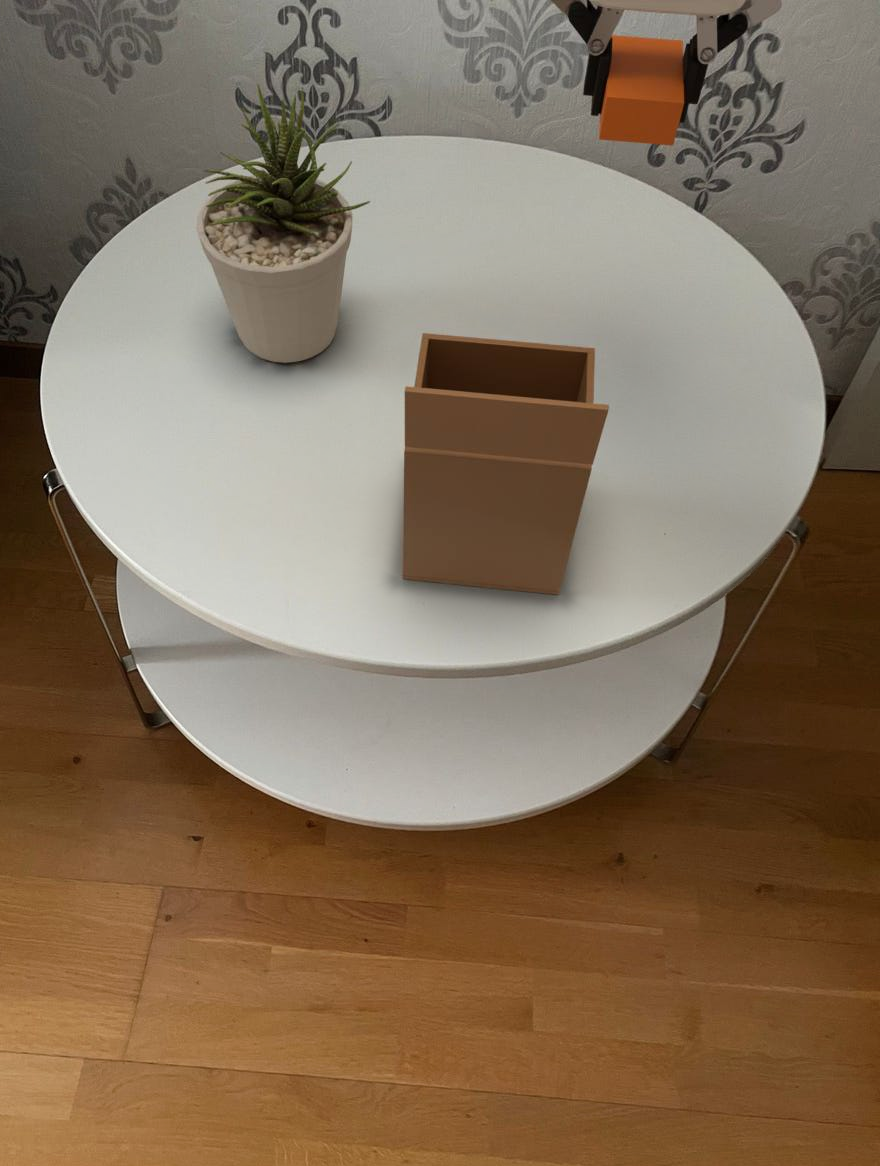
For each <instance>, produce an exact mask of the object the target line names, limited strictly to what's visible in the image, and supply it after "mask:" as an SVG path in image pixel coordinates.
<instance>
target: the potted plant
mask: <svg viewBox="0 0 880 1166" xmlns="http://www.w3.org/2000/svg"><path fill="white" fill-rule="evenodd" d="M256 85H257V91H258V97H259V102H260V108H261V111H262V115H263V121H264V125H265V129H266V130H265V131H266V134H267V138H268V143H269V146H268V144H267V143H266V142H265V141H264V139H263V138H262V137H261V136H260V134H259V133H258V131H257V130H256V129H255V127H254V125H253V123H251V121H250V119H249V117H248V116H247V114H246V112H245V111H244V109H243V108H242V107H240V111H241V113H242V115H243V117H244V119H245V122H246V123H247V125H248V126H247V125H245V124H243V123H240V126H242V127H243V128H244V129H246V130H247V131H248V132H250V133H251V134H252V136H253V138H254V140H255V142H256V143H257V145H258V148H259V150H260V152H261V155H262V157H263V161H264V162H262V161H247V162H245V161H243V160H240V159H238V158H236V157H234V156H231V155H229V154H227V153H224V152H222V151H220V152H219V153H220V154H221V155H222V156H225V157H226V158H228V159H230V160H232V161H233V162H235V163H237V164H238V165H240V166H241V167H243V168H242V170H247V171H248V172H249V173H250V174H251V175H248V176H247V175H242V174H236V173H233V172H228V171H222V170H217V169H215V170H214V169H203V172H206V173H212V174H213V173H214V174H218V175H223V176H216V177H215V178H212V179H210V180H207V181H206V182H205V185H206V184H210V183H214V182H217V181H227V180H230V181H232V182H229V183H228V184H226V185H224V186H223V187H221V188H218V189H216V190H214V191H211V192H210V193H208V194H207V197H208V199H207V200H206V201H205V202H204V204H203V205H202V206H201V208H200V211H199V213H198V215H197V220H196V232H197V235H198V239H199V242H200V245H201V247H202V250H203V253H204V254H205V257H206V259H207V260H208V262H209V264H210V266H211V268H212V271H213V273H214V275H215V278H216V281H217V283H218V286H219V289H220V291H221V294H222V297H223V299H224V302H225V304H226V308H227V310H228V313H229V315H230V317H231V320H232V322H233V325H234V327H235V330H236V333H237V334H238V337H239V339H240V341H241V342H242V344H243V345H244V347H245V348H246V349H247V350H248V351H249V352H250V353H252V354H254V355H255V356H257V357H258V358H260V359H262V360H266V361H270V362H274V363H283V364H286V363H296V362H297V363H299V362H302V361H305V360H308V359H311V358H313V357H314V356H317V355H319V354H320V353H322V352H323V351H324V350H325V349H327V348H328V346H330V344H331V343H332V341H333V339H334V338H335V335H336V332H337V331H336V330H337V328H338V324H339V323H338V322H339V316H340V307H341V300H342V292H343V285H344V276H345V270H346V269H345V268H346V262H347V253H348V250H349V248H350V244H351V241H352V232H353V212H352V210H357V209H359V208H361V207H364V206H366V205H368V204H370V202H371V200H368V201H364V202H361V203H358V204H355V205H350V203H349V202H348V201H347V199H346V198H345V197H344V196H343V195H342V194H341V193H340V192H339V191H338V189H336V188H334V186H335V185H336V184H337V183H339V181H340V180H341V179H342V178H343V177H344V176H345V175H346V174H347V172H348V171H349V169H350V167H351V165H352V163H353V161H350V162H349V164H348V165H347V167H346V168H345V170H344V171H342V172H341V173H340V174H339V175H338V176H337V177H335V178H334V179H332V180H331V181H330V182H329V183H326V182H324V181H323V180H321V179H319V178H318V177H319V176H320V175H321V173H322V172H324V171H325V170H326V169H325V166H326V165H327V162H324V163H323V164H322V165H320V166H319V167H318V165H317V157H316V151H317V149H318V148H319V147H320V146H321V144H322V143H323V142H324V140H325V139H326V137H328V136H329V135H330V134H331V133H332V132H333V131H334V130H335V129H336V128H337V127H338V126H340V123H337V124H335V125H333V126H332V127H330V128H329V129H327V131H325V132H324V133H323V135H321V136H320V137H319V138H318V139H317V140H316V142H315V143H314V144H313V143H312V141H311V139H310V138H309V135H308V134H307V133H306V130H305V129H304V128H302V127H303V119H304V112H305V95H304V89H303V87H301V100H300V107H299V112H298V117H297V122H296V106H297V105H296V104H297V94H294V96H293V100H292V101H291V112H290V116H289V122H288V121H287V120H288V119H287V114H286V106H285V99H284V98H283V99H282V100H281V118H280V119H281V120H280V121H278V122H277V126H276V124H275V122H274V120H273V118H272V116H271V114H270V112H269V110H268V108H267V104H266V101H265V99H264V96H263V93H262V90H261V87H260V84H259V83H258V82H257V83H256ZM277 128H278V130H277ZM303 138H305V140H306V142H307V146H308V150H309V152H308V153H307V155H306V156H305V158H304V159H303V161H302V162H301V164H300V166H299V165H298V162H299V155H300V151H301V147H302V143H303ZM310 163H311V164H310ZM255 166H256V167H260V168H262V169H258V168H256V167H255ZM308 168H309V169H308Z"/></svg>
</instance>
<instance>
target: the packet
mask: <svg viewBox="0 0 880 1166" xmlns="http://www.w3.org/2000/svg"><path fill="white" fill-rule="evenodd" d="M611 38H613V41H612V60H611V66H610V71H609V77H608V79H607V84H606V90H605V95H604V100H603V106H602V111H601V114H599V129H598V130H599V131H598V140H601V141H612V142H624V143H633V144H635V143H636V144H647V145H661V146H671V147H673V146H674V144H675V140H676V137H677V133H678V129H679V124H680V123H679V121H680V117H681V113H682V109H683V106H684V83H683V55H684V40H682V39H681V40H680V39H667V38H654V37H640V36H628V35H614V34H612V36H611Z"/></svg>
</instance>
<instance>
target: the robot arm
mask: <svg viewBox="0 0 880 1166" xmlns="http://www.w3.org/2000/svg"><path fill="white" fill-rule="evenodd" d="M550 1H551V2H552V4H554V5H555V7H556V8H557V9H559V11H560V12H561V13H563V14H564V15H565V16H566V17H567V18H568V19H567V20H568V22H569V23H570V24H571V25H572V27H573V28H574V30H575V31H576V32H577V34H578V35H579V36H580V38H581V39H582V41H584V43H585V44H586V46H587V47H586V49H587V52H588V57H587V63H586V69H585V75H584V83H583V89H582V95H583V96H586V97H591V106H590V116H591V117H599V116H600V114H601V111H602V106H603V100H604V95H605V90H606V84H607V79H608V77H609V71H610V66H611V60H612V41H613V38H611V36H612V35H614V32H615V30H616V29H617V28H616V27H617V26H618V23H619V21H620V19H621V18H622V15H623V12H624V11H633V12H643V13H659V14H670V15H671V14H674V15H688V16H695V17H696V33H695V34H694V35H693V36H692V37H691V38H690V39H689V43H685V48H684V50H683V83H684V106H683V109H682V113H681V117H680V121H679V124H685V121H686V118H687V113H688V110H689V105H698V104H699V101H700V97H701V93H702V90H703V87H704V82H705V78H706V74H707V71H708V68H709V64H712V63H713V62H714V61H715V60H716V58H717V57H718V54H719V53H720V52H722V51H723V50H724V49H726V48H727V47H729V45H731V44H733V43H734V42H735V41H737V40H738V39H740V37H742V36H743V35H744V34H746V32H747V31H748V29H750V28H752V27H755V26H757V25H758V24H760V23H762V22H763V21H766V20H767V19H768V18H770V17H772V16H774V15H775V14H777V13H778V12H779V11H780V9H781V8H782V4H783V2H782V0H550ZM593 4H594V5H593Z"/></svg>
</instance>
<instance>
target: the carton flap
mask: <svg viewBox="0 0 880 1166" xmlns="http://www.w3.org/2000/svg"><path fill="white" fill-rule="evenodd" d="M609 405H610V404H603V403H594V402H593V403H582V402H571V401H561V400H550V399H539V398H528V397H517V396H506V395H495V394H484V393H473V392H462V391H451V390H440V389H430V388H419V387H414V386H408V385H407V386H405V387H404V448H405V447H412V448H422V449H433V450H443V451H454V452H464V453H475V454H485V455H496V456H506V457H517V458H527V459H538V460H548V461H559V462H569V463H580V464H590V465H592V466H593V465H594V463H595V459H596V455H597V452H598V449H599V448H598V447H599V443H600V442H601V438H602V434H603V431H604V428H605V423H606V421H607V417H608V413H609V410H610V409H609V408H610V406H609Z"/></svg>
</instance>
